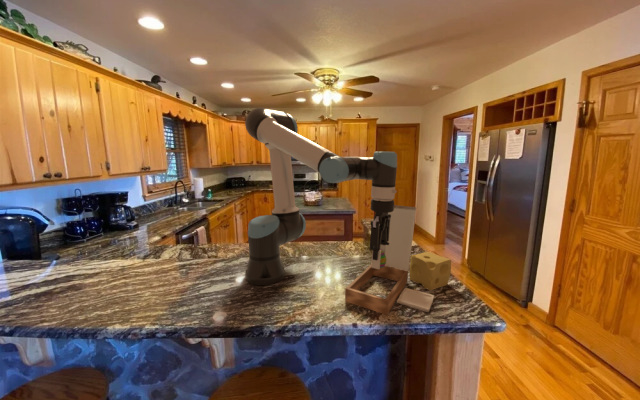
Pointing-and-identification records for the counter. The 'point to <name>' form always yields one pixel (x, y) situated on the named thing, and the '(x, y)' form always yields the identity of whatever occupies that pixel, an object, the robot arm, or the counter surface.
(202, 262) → the counter surface
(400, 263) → the lid
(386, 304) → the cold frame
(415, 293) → the dish
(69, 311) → the counter surface
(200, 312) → the counter surface
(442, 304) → the counter surface
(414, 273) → the cheese
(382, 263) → the egg
